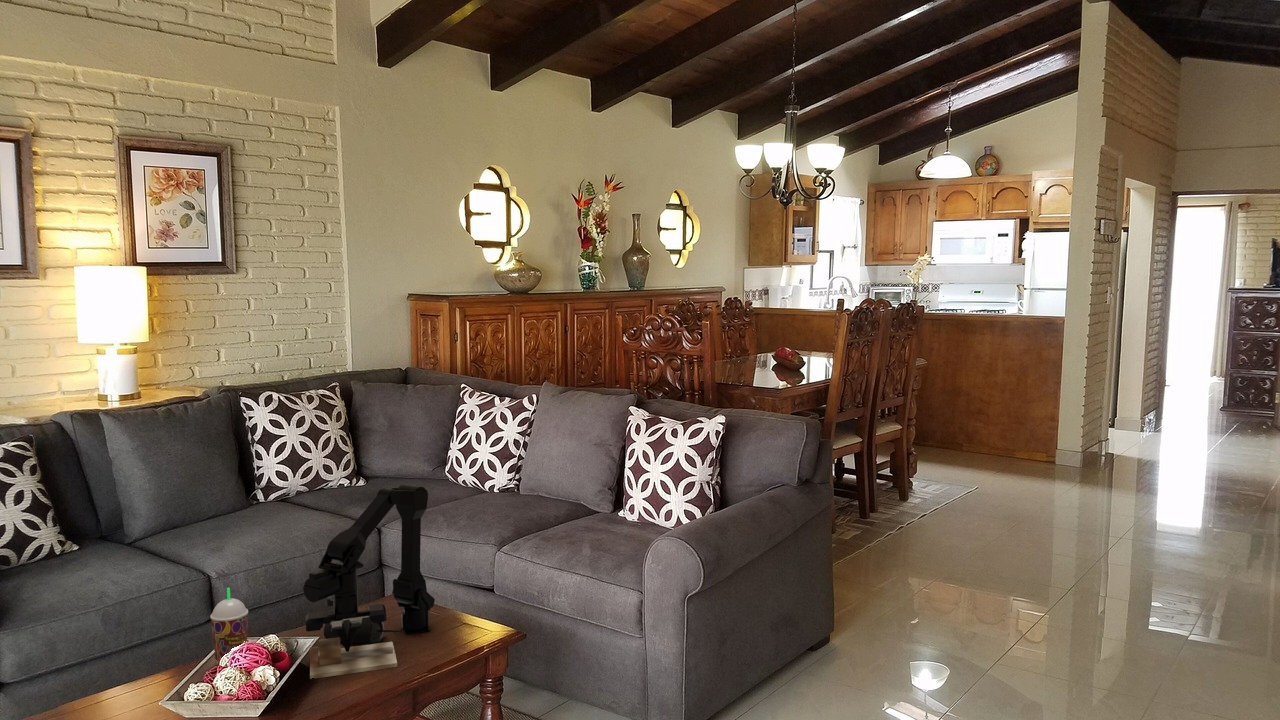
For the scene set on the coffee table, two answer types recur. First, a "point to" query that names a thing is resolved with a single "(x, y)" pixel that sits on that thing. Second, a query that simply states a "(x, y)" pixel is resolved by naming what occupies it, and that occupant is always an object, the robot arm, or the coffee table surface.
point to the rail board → (355, 660)
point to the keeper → (329, 651)
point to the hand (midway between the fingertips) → (347, 651)
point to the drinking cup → (361, 632)
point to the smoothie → (228, 625)
